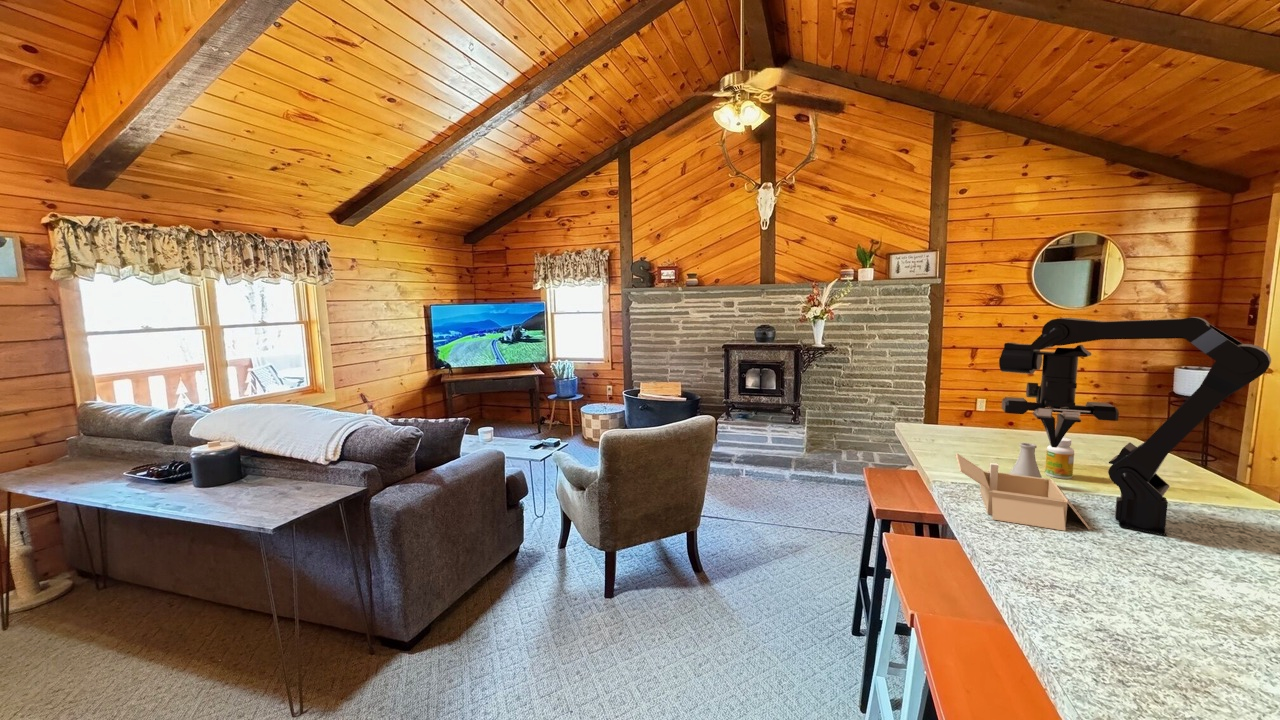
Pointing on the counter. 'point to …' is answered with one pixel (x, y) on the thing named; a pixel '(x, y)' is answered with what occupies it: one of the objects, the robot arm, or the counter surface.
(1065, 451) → the supplement bottle
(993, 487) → the foam post
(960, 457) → the far flap
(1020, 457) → the flask
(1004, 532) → the counter surface
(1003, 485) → the carton
